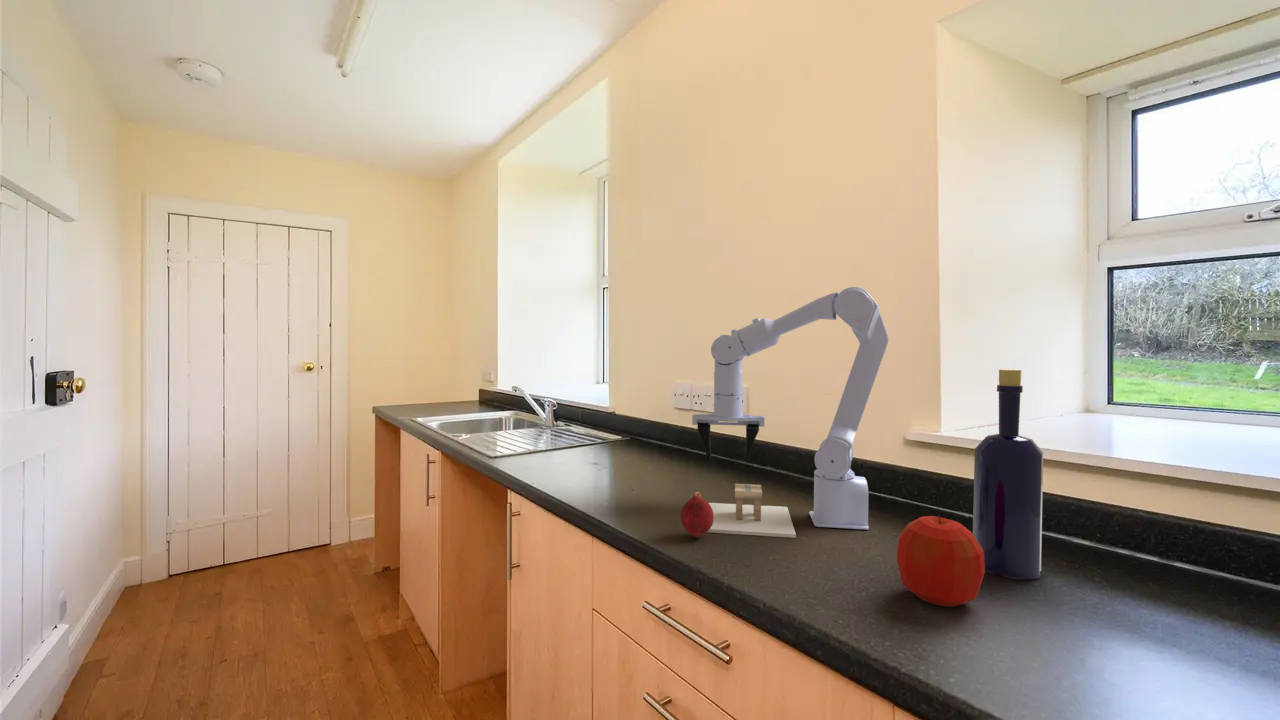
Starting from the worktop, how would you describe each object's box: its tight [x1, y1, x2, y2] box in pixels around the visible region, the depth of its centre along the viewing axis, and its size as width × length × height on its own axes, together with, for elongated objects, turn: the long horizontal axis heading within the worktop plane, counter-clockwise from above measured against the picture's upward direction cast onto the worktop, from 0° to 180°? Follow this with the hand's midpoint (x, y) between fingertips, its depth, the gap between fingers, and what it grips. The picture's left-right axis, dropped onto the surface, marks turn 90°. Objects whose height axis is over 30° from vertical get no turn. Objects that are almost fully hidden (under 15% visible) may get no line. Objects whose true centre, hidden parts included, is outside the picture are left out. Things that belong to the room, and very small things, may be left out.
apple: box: [896, 514, 986, 608], centre depth 71 cm, size 10×10×12 cm
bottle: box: [972, 368, 1044, 581], centre depth 81 cm, size 9×9×30 cm
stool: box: [734, 483, 763, 521], centre depth 103 cm, size 5×5×6 cm
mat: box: [706, 502, 797, 539], centre depth 102 cm, size 16×16×1 cm
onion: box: [680, 491, 714, 539], centre depth 93 cm, size 6×6×8 cm
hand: (727, 460), depth 110 cm, fingers open, 7 cm apart
